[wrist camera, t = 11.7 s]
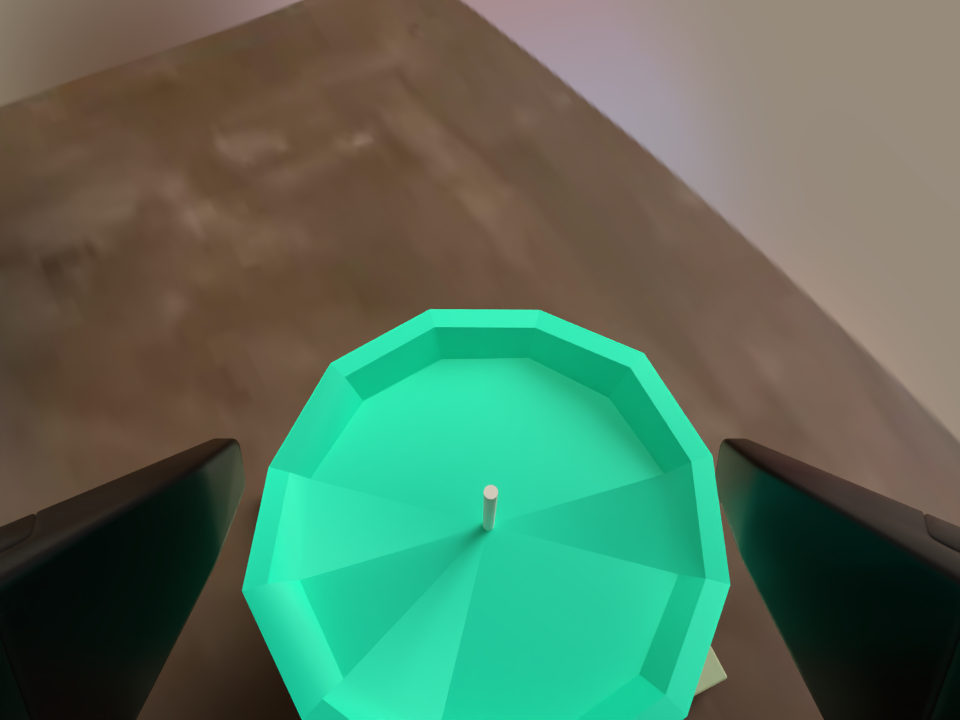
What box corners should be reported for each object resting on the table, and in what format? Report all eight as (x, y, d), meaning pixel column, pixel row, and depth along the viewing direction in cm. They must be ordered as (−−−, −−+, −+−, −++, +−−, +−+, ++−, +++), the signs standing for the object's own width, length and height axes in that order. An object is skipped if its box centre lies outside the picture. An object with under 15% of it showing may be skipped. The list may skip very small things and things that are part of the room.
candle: (481, 437, 19) (483, 159, 8) (634, 580, 17) (920, 485, 6) (333, 585, 17) (57, 497, 6) (487, 762, 15) (504, 1110, 4)
